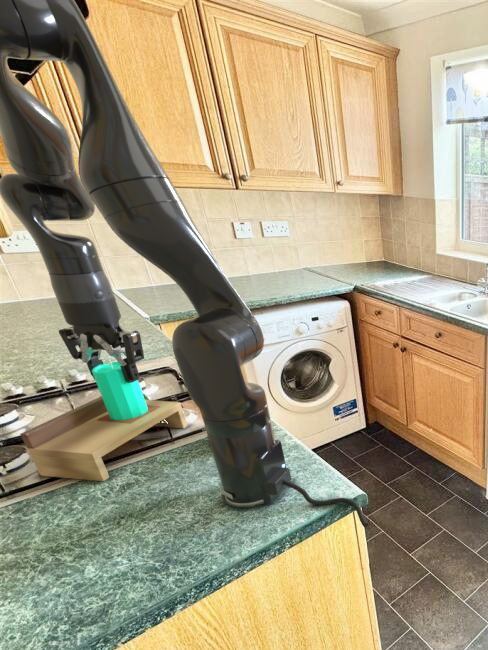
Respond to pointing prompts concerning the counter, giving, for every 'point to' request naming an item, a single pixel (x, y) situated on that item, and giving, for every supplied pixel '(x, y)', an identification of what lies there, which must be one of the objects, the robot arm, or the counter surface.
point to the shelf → (91, 437)
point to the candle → (119, 392)
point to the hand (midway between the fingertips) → (117, 379)
